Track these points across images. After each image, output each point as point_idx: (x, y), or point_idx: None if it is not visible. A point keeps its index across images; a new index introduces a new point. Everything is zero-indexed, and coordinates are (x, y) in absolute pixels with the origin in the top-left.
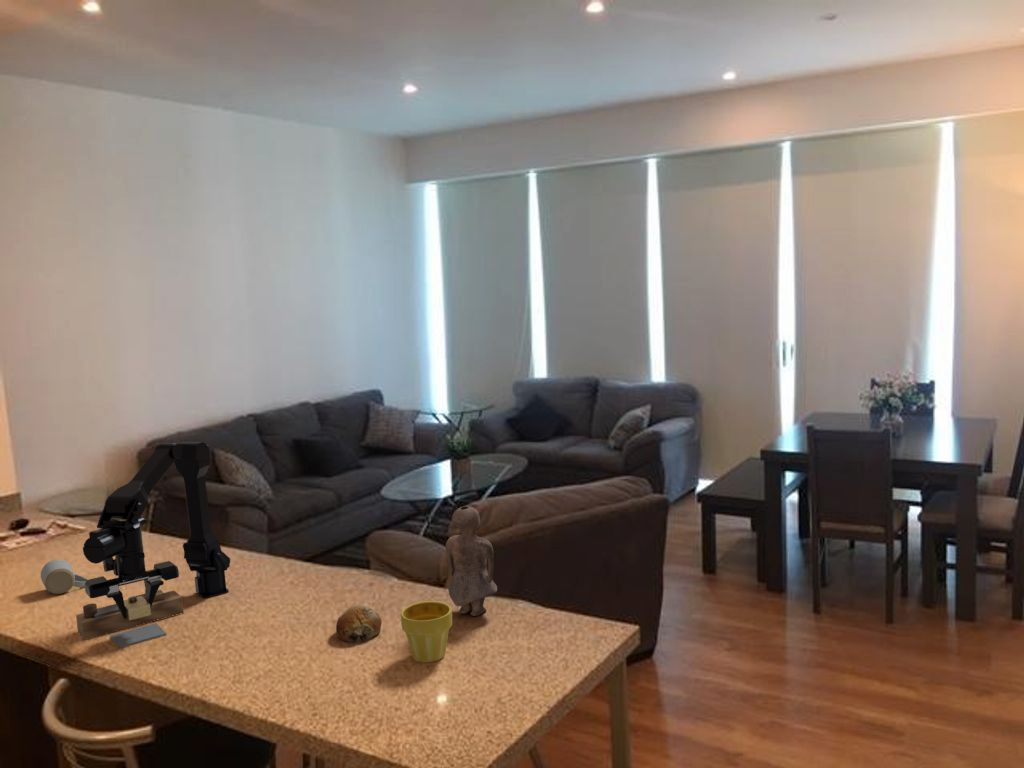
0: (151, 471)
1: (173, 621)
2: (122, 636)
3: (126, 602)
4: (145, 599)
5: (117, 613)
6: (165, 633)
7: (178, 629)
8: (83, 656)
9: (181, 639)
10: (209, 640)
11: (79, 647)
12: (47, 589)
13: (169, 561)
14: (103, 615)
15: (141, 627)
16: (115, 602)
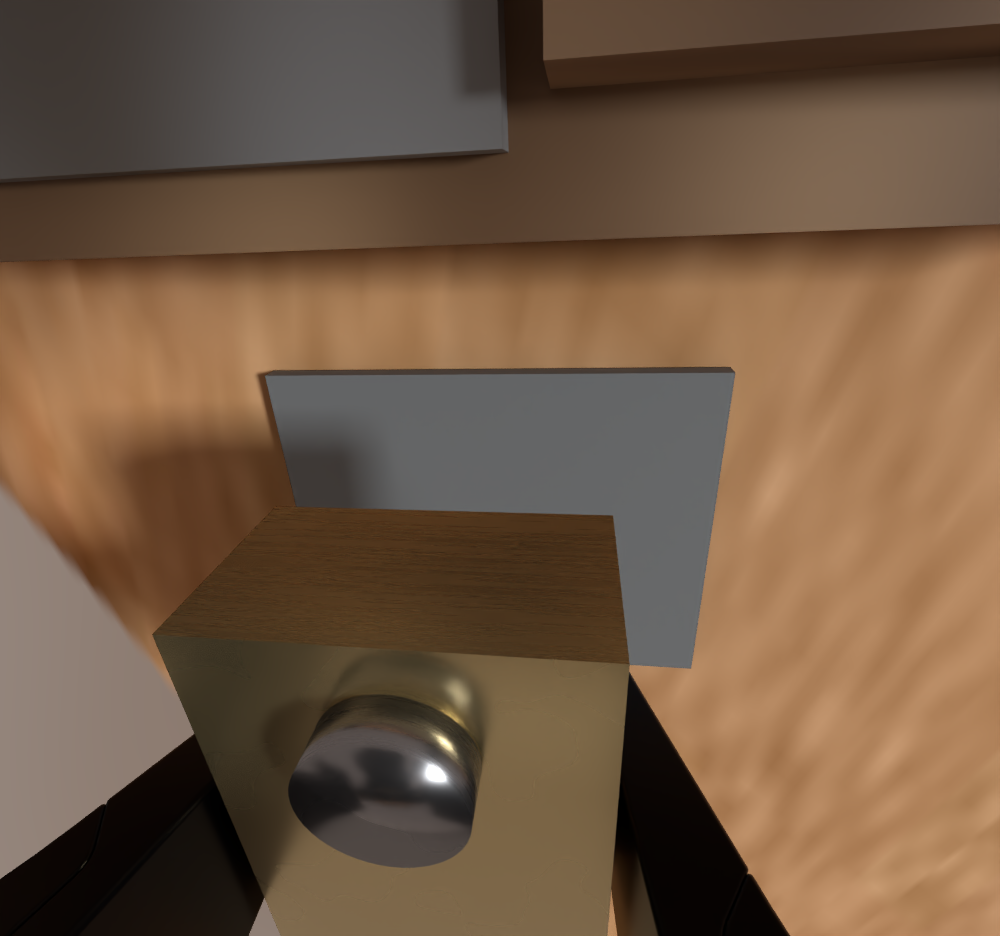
0: None
1: (910, 400)
2: (366, 481)
3: (279, 769)
4: (628, 827)
5: (254, 240)
6: (684, 666)
7: (819, 621)
8: (109, 595)
9: (732, 780)
10: (852, 890)
11: (38, 410)
12: None
13: None
14: (39, 178)
15: (564, 384)
16: (51, 848)
